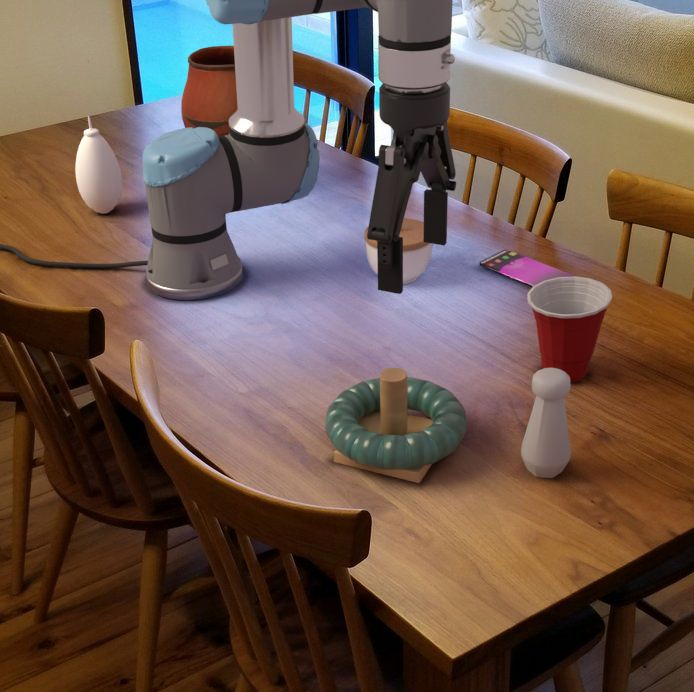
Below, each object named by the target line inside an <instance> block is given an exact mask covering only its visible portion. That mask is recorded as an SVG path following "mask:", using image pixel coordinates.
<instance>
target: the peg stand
mask: <svg viewBox="0 0 694 692" xmlns="http://www.w3.org/2000/svg"><path fill="white" fill-rule="evenodd" d="M407 377H408V373H407V371H406V370H404V369H402V368H400V367H388V368H385V369H383V370H381V372H379V378H380V410H379V411H374V412H371V413H370V414H368V415H366V416H364V417H362V418H361V420H360V421H359V424H360V425H361V426H362V427H364V428H365V429H367V430H369V431H371V432H375V433H380V434H384V435H407V434H411V433H415V432H420V431H422V430H424V429H426V428H427V427H429V426H431V424H432V423H433V420H432V419H431V418H426V417H424V416H417V415H413V414H408V409H407ZM333 462H334V463H336V464H341V465H344V466H348V467H352V468H355V469H356V468H357V469H361V470H364V471H369V472H373V473H376V474H381V475H385V476H388V477H393V478H396V479H401V480H404V481H408V482H412V483H416V484H420V483H421V481H422V480H423V478H424V477H425V476H426V474H427V472H428V471H429V469H430V468H431V466H432V465H433V464H430V465H426V466H422V467H417V468H413V469H408V470H383V469H378V468H374V467H370V466H366V465H362V464H358V463H356V462H354V461H352V460H351V459H349V458H348V457H346V456H344V455H343V454H341V453H340V452H338V451H337V450H336V449H335V450H334V451H333Z"/></svg>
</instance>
